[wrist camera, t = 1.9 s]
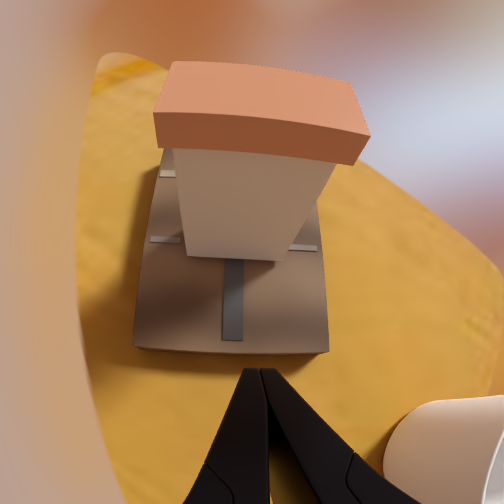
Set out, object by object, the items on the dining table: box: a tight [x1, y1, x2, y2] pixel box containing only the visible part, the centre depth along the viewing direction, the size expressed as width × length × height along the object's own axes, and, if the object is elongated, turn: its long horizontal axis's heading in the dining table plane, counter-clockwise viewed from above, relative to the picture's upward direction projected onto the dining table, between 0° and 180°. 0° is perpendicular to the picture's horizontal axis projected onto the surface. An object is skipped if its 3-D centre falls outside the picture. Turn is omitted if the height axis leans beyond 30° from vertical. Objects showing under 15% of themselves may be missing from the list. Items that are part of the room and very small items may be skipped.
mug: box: [383, 395, 504, 504], centre depth 11 cm, size 9×12×11 cm
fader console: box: [132, 148, 329, 356], centre depth 21 cm, size 16×12×2 cm
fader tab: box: [153, 61, 371, 261], centre depth 14 cm, size 3×7×12 cm, turn 90°
